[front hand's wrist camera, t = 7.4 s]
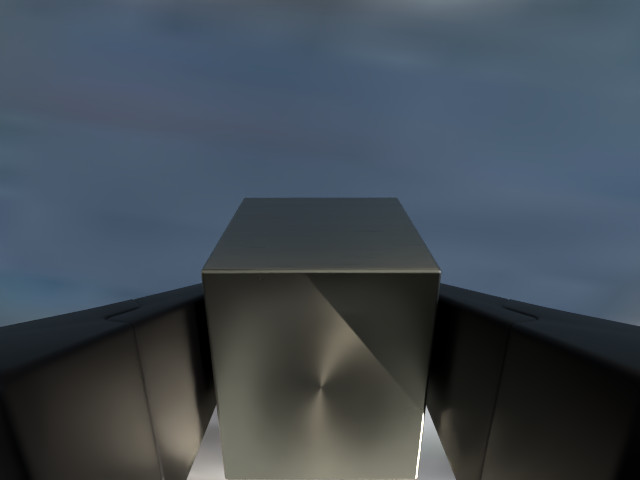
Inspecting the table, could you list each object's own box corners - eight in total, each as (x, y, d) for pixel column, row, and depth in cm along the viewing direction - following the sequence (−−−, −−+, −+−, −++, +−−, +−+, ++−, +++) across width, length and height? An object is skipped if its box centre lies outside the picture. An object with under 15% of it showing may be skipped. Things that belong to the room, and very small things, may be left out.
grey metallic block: (243, 197, 11) (199, 269, 7) (397, 197, 11) (442, 269, 7) (254, 352, 13) (224, 480, 9) (387, 351, 13) (418, 481, 9)
